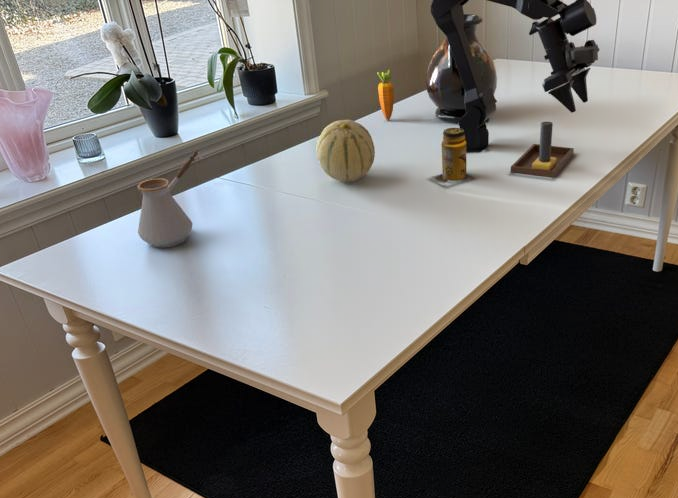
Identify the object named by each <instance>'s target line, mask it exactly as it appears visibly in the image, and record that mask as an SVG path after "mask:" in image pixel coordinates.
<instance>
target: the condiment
mask: <svg viewBox="0 0 678 498" xmlns="http://www.w3.org/2000/svg"><path fill="white" fill-rule="evenodd" d="M441 168H442V169H441V171H442V172H441V174H438V175H435V176H431V177H429V179H430V180H431V181H432V182H433V181H434V183H437V184H438V185H441V186H444V185H445V184H446V183H447V182H448V181H461V180H464V179H465V178H466V177H467V152H466V141H465V131H464V130H463V129H461V128H460V127H449V128H445V129H443V132H442V142H441Z"/></svg>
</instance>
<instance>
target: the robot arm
mask: <svg viewBox="0 0 678 498" xmlns="http://www.w3.org/2000/svg"><path fill="white" fill-rule="evenodd" d="M469 1H470V0H432V1H431V4H430V6H429V7H430V8H429V10H430V15H431V17H432V19H433V20H434V22H435V24H436V26H437V27H438V29H439V30H440V31H442V33H443V34H444V35H445V38H446V37H447V40H448V43H449V46H450V49H451V52H452V54H453V57H454V60H455V63H456V66H457V69H458V72H459V75H460V77H461V80H462V83H463V86H464V89H465V109H466V114H465V115H464V116H463V117H462V118H461V119H460V120H459V121H458V123H457V124H458V128H461V129H463V130H464V131H465V141H466V153H471V152H473V153H474V152H483V151H485V150H488V147H489V145H490V144H489V140H490V138H489V135H490V134H489V133H490V132H489V129H488V126H487V123H489V122H490V120H491V117H493V115H494V114H495V112H496V110H497V104H496V103H498V100H497V99H496V97H495V93H494V94H493V89H492V87H490V88H489V89H487V88H486V87H485V86H484V85H483V84H482V82H481V79H480V76H479V73H478V70H477V67H476V64H475V61H474V58H473V55H472V52H471V49H470V46H469V43H468V40H467V37H466V34H465V31H464V27H463V25H464V14H465V13H464V5H466V4H467V3H468V2H469ZM486 1H487V2H491V3H495V4H499V5H502V6H505V7H510V8H513V9H514V10H516V11H518V12H519V13H520V14H521V15H523V16H525V17H527V18H529V19H531V20H534V21H533V22H532V23H531V26H530V30H529V32H528V35H529V36H533V35H534V34H536V33H537V34H538V36H539V38H540V41H541V44H542V46H543V49H544V52H545V55H543V58H544V60H545V61H547V60H548V62H549V64H550V67H551V69H552V71H551V72H550V75H549V76H546V77H545V78H544V79H543V81H542V84H541V86H542V88H543V90H544V93H547V94H548V95H551V96H552V97H553V98H554V99H556V100H557V101H558V102H559V103H560V104H561V105H562V106H564V107H565V108H566V109H567V110H568V111H569V112H570V113H571V114H573V113H575V112H576V111H577V109H576V103H575V99H574V95H573V92H575V94H576V95H577V96H578V98H579V99H580V100H581V102H582V103H583V104H584V103H587V102H588V101H589V97H588V95H589V94H588V85H587V77H588V75H589V72H590V70H591V66H592V65H593V64H594V63H595V62H596V61H598V60H599V52H600V48H599V45H598V44H597V43H596V41H595V40H594V39H589V40H586V41H585V43H584V45H581V46H575V43H574V42H573V41H569V39H568V36H567V35H569V36H571V37H574V36H576V35H578V34H580V33H582V32H584V31H586V30H588V29H590V28H592V27H595V26H596V24H597V15H596V14H597V13H596V11H595V8H594V7H593V6H592V5H591V3H590V2H589V1H588V0H575V1H574V2H572V3H569V4H567V3H565V2H564V1H562V0H486ZM558 15H559V17H558V18H555V19H553V18H554V17H556V16H558ZM543 18H546V19H543ZM542 19H543V20H542ZM539 20H542V21H540V22H539ZM572 90H573V92H572Z"/></svg>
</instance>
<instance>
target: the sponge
mask: <svg viewBox="0 0 678 498" xmlns="http://www.w3.org/2000/svg"><path fill="white" fill-rule="evenodd" d="M553 126H554V123H553V121H542V122H540V134H539V145H540V150H539V157H538V158H537V159H536V160H535V161H534V162H533V163H532V168H535V169H543V170H551V171H552V170H553V168H554V167H555V166H556V159H557V158H556V157H551V146H552V143H553V142H552V140H553Z"/></svg>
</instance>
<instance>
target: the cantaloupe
mask: <svg viewBox="0 0 678 498" xmlns="http://www.w3.org/2000/svg"><path fill="white" fill-rule="evenodd" d="M375 156H376V150H375V144H374V141H373V138H372V135H371V134H370V132H369V130H368V129H367V128H366V127H365V126H363V125H362V124H361V123H359V122H357V121H355V120H352V119H340V120H336V121H333V122H331V123H330V124H328V125H327V126H325V128H324V129H323V130H322V131H321V133H320V135H319V137H318V139H317V142H316V157H317V161H318V163H319V165H320V168H321V169H322V170H323V172H324V173H325V174H326V175H327V176H329V177H330V178H332V179H334V180H336V181H339V182H344V183H345V182H353V181H357V180H358V179H361V178H364V177H365V176H366V175H367V174H368V173H369V171H370V169H371V168H372V166H373V164H374V161H375Z"/></svg>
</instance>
